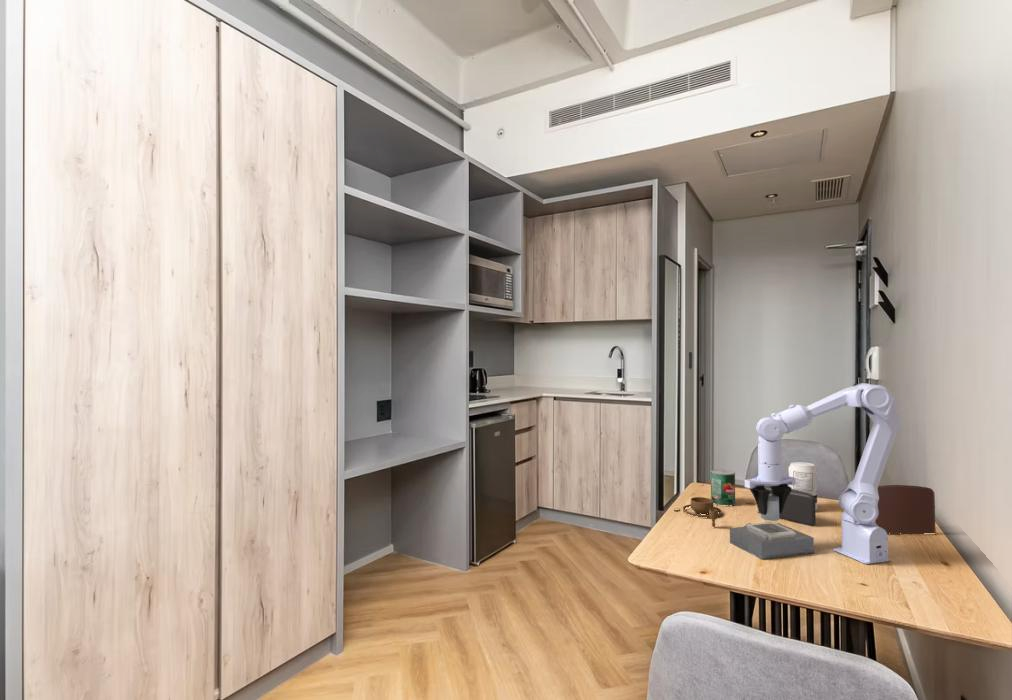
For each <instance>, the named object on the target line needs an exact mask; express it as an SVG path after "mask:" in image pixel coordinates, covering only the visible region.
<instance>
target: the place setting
mask: <svg viewBox="0 0 1012 700" xmlns="http://www.w3.org/2000/svg"><path fill="white" fill-rule="evenodd" d="M689 506H691V508H692V510H693V512H695V513H693V512H690V511H688V510H685V508H686V507H689ZM673 511H674V512H677V511H676V510H674V509H673ZM682 511H683V513H684V512H686V513H687V514H690V515H693V516H698V517H707V518H706V519H710V520H711V521H712V522H711V526H712V527H715V528H716V520H717V519H718V518H720V517H721V516H722V513H723V510H721V508H719V507H718V506H714V504H713V500H712V499H711V498H708V497H704V496H703V497H702V496H696V497H695V496H694V497H692V498H690V504H686V505H684V506H683V507H682ZM696 512H697V513H701V514H707V513H709V514H707V515H701V514H697V513H696ZM718 512H719V514H718ZM687 514H686V515H687ZM693 516H692V517H693ZM719 516H720V517H719Z"/></svg>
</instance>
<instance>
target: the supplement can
mask: <svg viewBox="0 0 1012 700" xmlns="http://www.w3.org/2000/svg"><path fill="white" fill-rule="evenodd" d="M788 476H790V477H793V478H795V485H788V487H791V489H795V490H799V491H803V492H806V493H809V494H811V495H813V496H814V498H815V511H817V510H818V469H817V468H816V465H815V464H814V463H810V462H803V461H792V462H790V464H789V466H788Z"/></svg>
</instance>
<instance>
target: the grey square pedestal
mask: <svg viewBox="0 0 1012 700" xmlns="http://www.w3.org/2000/svg"><path fill="white" fill-rule="evenodd" d="M814 540H815V539H814V537H813V536H811V535H808V534H806V533H803V532H801V531H799V530H796V529H794V528H791V527H788V526H787V525H784V524H781V523H779V522H777V523H776V522H772V521H766V522H756V523H750V522H749V523H746V524H745V525H743V526H736V527H729V544H731V545H734V546H736V547H738V548H739V549H741V550H743V551H745V552H747V553H749V554H750V553H751V554H750V555H752V554H753V556H754V555H755V557H756V558H758V559H760V560H769V559H776V558H786V557H793V556H800V555H801V556H802V555H809V554H815V543H814V542H815V541H814Z"/></svg>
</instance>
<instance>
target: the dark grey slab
mask: <svg viewBox="0 0 1012 700" xmlns="http://www.w3.org/2000/svg"><path fill="white" fill-rule="evenodd" d="M764 488H766V490H769V491H770V494H772V490H771V486H766V487H764ZM816 516H817V515H816V510H815V498H814V496H813V495H811V494H809V493H806V492H803V491H799V490H795V489H792V491H791V492H790V494H789V495H788V497H787V499H786V501H785V504H784V508H783V511H782V513H779V520H783V519H784V521H787V520H788V521H787V522H791V523H792V522H793V523H797V524H801V525H804V526H810V527H811V526H815V524H816V521H817V519H816Z"/></svg>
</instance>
